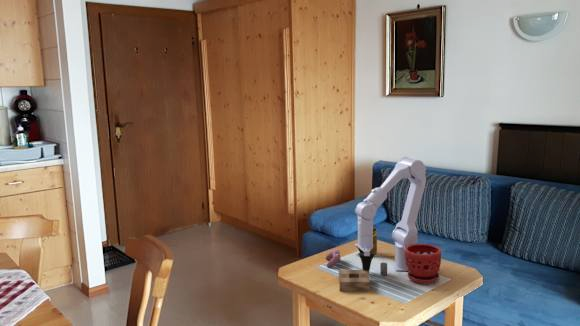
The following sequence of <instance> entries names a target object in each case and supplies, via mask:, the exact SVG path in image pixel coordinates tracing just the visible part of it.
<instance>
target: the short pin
mask: <svg viewBox="0 0 580 326" xmlns="http://www.w3.org/2000/svg"><path fill="white" fill-rule="evenodd" d="M379 268H380V270H379V271H380V274H381V275H382V277H387V276H388V263H387V262H380V267H379ZM381 275H380V276H381Z"/></svg>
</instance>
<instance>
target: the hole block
mask: <svg viewBox="0 0 580 326" xmlns="http://www.w3.org/2000/svg"><path fill="white" fill-rule="evenodd" d="M338 284H339V285H338V286H339V287H338V288H339V292H370V291H371V279H370V272H369V273H368V270H366V271H364V270H362V269H339V270H338Z"/></svg>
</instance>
